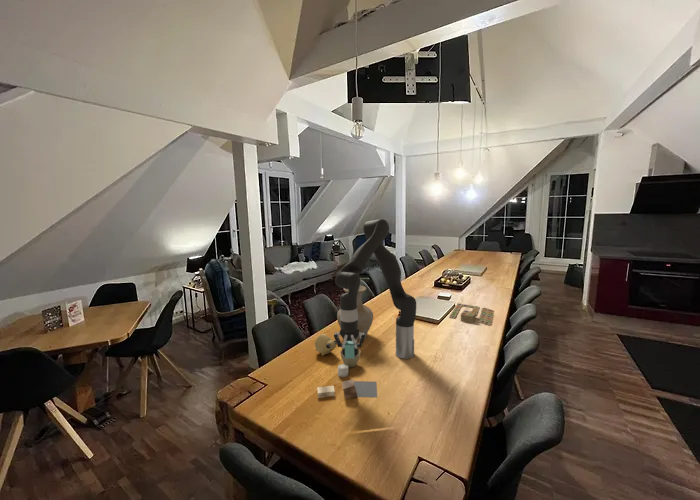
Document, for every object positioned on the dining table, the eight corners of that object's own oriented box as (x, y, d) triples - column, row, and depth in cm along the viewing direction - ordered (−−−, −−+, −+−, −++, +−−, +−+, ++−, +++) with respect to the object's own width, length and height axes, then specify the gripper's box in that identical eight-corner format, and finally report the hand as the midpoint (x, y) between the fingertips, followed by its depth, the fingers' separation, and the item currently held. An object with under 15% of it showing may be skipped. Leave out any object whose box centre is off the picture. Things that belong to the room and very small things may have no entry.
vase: (331, 340, 176) (330, 291, 171) (345, 326, 196) (344, 282, 191) (366, 346, 167) (366, 295, 163) (377, 331, 187) (377, 285, 183)
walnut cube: (355, 389, 128) (353, 379, 127) (357, 396, 123) (354, 385, 122) (344, 392, 127) (341, 382, 127) (345, 400, 122) (342, 389, 122)
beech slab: (333, 392, 129) (333, 385, 128) (334, 397, 125) (334, 391, 124) (317, 393, 127) (317, 387, 127) (318, 399, 124) (317, 393, 123)
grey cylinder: (347, 371, 143) (347, 363, 143) (349, 377, 138) (349, 369, 138) (337, 372, 142) (337, 364, 142) (338, 378, 138) (338, 370, 137)
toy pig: (327, 361, 153) (326, 341, 152) (311, 353, 161) (310, 335, 159) (340, 353, 161) (339, 335, 159) (324, 346, 168) (324, 329, 167)
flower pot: (363, 361, 152) (362, 348, 151) (357, 372, 143) (356, 358, 142) (344, 358, 155) (344, 345, 154) (337, 368, 146) (337, 355, 145)
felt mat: (376, 382, 134) (376, 381, 134) (377, 398, 123) (377, 397, 123) (352, 382, 135) (352, 381, 135) (350, 398, 124) (350, 396, 124)
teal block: (355, 353, 131) (354, 340, 130) (354, 358, 127) (354, 345, 126) (346, 353, 132) (345, 340, 131) (345, 358, 128) (344, 345, 127)
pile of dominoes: (491, 327, 192) (491, 319, 191) (447, 319, 205) (448, 312, 204) (495, 310, 222) (495, 302, 221) (457, 304, 235) (457, 297, 234)
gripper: (366, 314, 130) (366, 351, 133) (333, 314, 131) (335, 350, 134) (365, 321, 122) (366, 360, 125) (331, 321, 124) (332, 359, 126)
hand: (350, 355), depth 130 cm, fingers closed on teal block, 4 cm apart
